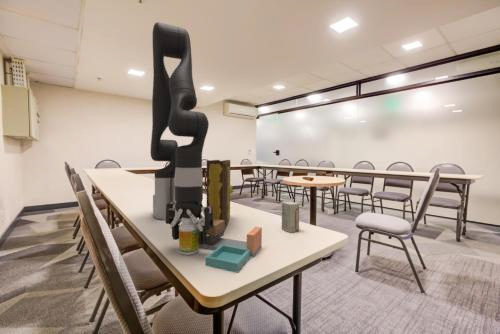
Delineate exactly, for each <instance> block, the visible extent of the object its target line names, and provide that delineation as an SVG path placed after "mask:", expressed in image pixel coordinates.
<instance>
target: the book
mask: <svg viewBox="0 0 500 334" xmlns="http://www.w3.org/2000/svg"><path fill="white" fill-rule="evenodd" d="M233 191H234V190H233V185H231V159H224V160H223V159H222V160H220V159H212V160H206V207H208V206H212V207H213V219H218V220H225V230H224V233H225V232H226V228H227V226H228V224H229V222H230V219H231V218H230V217H231V194H232V193H233Z"/></svg>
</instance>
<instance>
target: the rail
mask: <svg viewBox="0 0 500 334" xmlns="http://www.w3.org/2000/svg"><path fill="white" fill-rule="evenodd" d="M262 230H263V227H259V226H255V227H254V228H252V229H251V230H250V231H248V233H247V234H246V241H244V240H238V239H231V238H224V237H221V238H219V239H218V240H216V241H215V242H214V243H212V244H209V243H208V242H207V240H206V241H205V243H204V244H202V245H200V244H199V248H205V249H209V250H213V251H214V250H216V249H217V248H218V247H219V246H221V245H222V244H223V245H229V246H235V247H240V248H246V249H251V257H255V256H256V255H257V253H258V252H259V251H260V249H261V248H262V247H263V246H262V243H263V241H262V238H263V237H262V236H263V235H262V233H263V231H262ZM208 236H209V235H207V237H208Z"/></svg>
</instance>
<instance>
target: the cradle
mask: <svg viewBox="0 0 500 334" xmlns="http://www.w3.org/2000/svg"><path fill="white" fill-rule="evenodd" d="M251 257H252V256H251V249H246V248H240V247H235V246H229V245H223V244H222V245H221V246H219V247H218V248H217V249H216V250H214V249H213V251H212V252H210V253H209V254H208V255H206V256H205V262H204V263H205V266H207V267H211V268H217V269H222V270H225V271H231V272H235V273H238V272H239V271H241V269H242V268H243V266H244V265H245V264H246V263H247V261H248V260H250V258H251Z"/></svg>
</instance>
